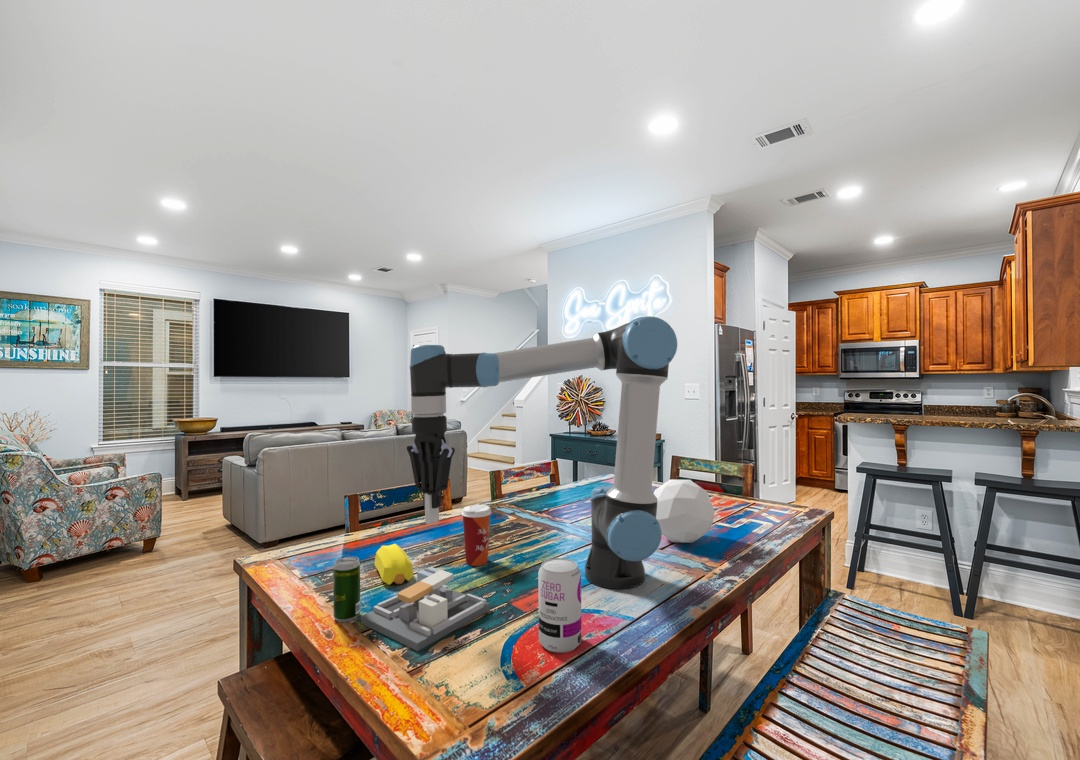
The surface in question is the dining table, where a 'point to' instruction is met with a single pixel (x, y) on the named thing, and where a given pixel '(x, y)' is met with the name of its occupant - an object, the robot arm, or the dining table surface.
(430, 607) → the slider
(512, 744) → the dining table surface
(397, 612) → the grey slider track base
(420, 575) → the slider
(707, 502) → the geometric orb
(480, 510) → the coffee cup
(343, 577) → the beer can
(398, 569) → the yellow faceted dome
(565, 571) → the supplement can
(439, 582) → the rocker
